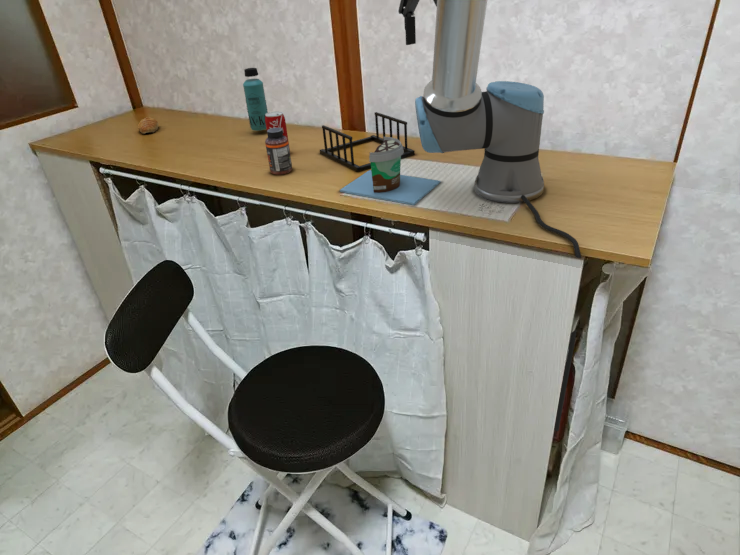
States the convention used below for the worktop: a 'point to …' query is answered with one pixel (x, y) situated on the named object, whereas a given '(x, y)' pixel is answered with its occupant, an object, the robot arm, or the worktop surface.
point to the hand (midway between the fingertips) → (427, 46)
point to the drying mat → (405, 193)
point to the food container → (386, 165)
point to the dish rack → (330, 151)
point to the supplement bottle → (278, 152)
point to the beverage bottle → (255, 100)
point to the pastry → (148, 125)
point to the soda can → (276, 121)
